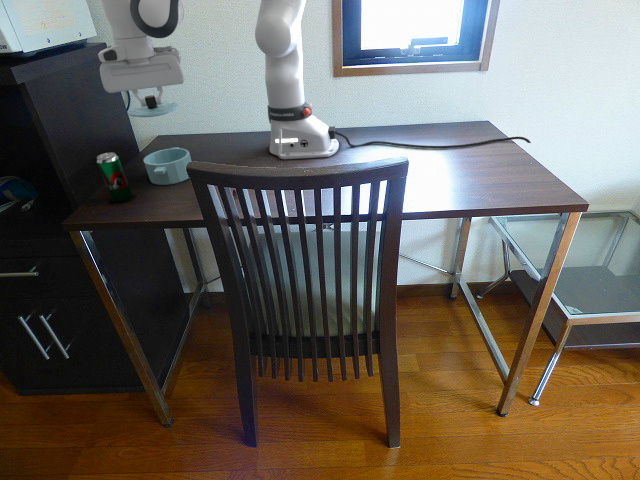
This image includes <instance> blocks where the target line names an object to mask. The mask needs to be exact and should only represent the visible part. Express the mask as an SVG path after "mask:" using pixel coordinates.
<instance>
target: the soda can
mask: <svg viewBox="0 0 640 480" xmlns="http://www.w3.org/2000/svg"><path fill="white" fill-rule="evenodd" d="M96 164H97V167H98V169H99V172H100V175H101V176H102V178H103V181H104V183H105V186H106V189H107V191H108V194H109V196H110V198H111V200H112V201H113V202H115V203H123V202H126V201H129V200H130V199H131V198H132V196H133V192H132V189H131V186H130V184H129V182H128V178H127V175H126V173H125V170H124V168H123V165H122V162H121V160H120V157H119V156H118V155H117V154H116V153H115V152H113V151H112V152H111V151H110V152H104V153H101V154H99V155H97V156H96Z"/></svg>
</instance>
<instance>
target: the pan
mask: <svg viewBox="0 0 640 480" xmlns="http://www.w3.org/2000/svg"><path fill="white" fill-rule="evenodd" d="M142 161H143V164H144V166H145V169H146V173H147V175H148V178H149V181H150V183H151V184H154V185H157V186H164V185H165V186H166V185H173V184H179V183H182V182H184V181H187V180H188V179H190V178H189V177H188V175H187V172H186V166H187V164H188V163H189V162H192V163H193V161H192V158H191V153H190V151H189V150H188V149H186V148H183V147H181V148H180V147H178V146H176V147H170V148H165V149H160V150H157V151H154V152H151V153H149V154H148V155H146V156H145V157H144V158H143V159H142Z"/></svg>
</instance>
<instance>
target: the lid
mask: <svg viewBox="0 0 640 480" xmlns="http://www.w3.org/2000/svg"><path fill="white" fill-rule="evenodd" d="M155 97H156V96H155V95H154V94H153V95H151V94H150V95H146V96H144V99H145V100H146V103H147V106H145V107H142V106H141V104H139V105H136V106H133V107H131V108H129V109H128V110H127V114H128V116H129V117H133V118H154V117H161V116H164V115H167V114H169V113H171V112H173V111H176V110H177V109H178V108H179V104H178V102H175V101H167V100H165V101H162V104H160V105H157V103H156V100H155Z"/></svg>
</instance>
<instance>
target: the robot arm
mask: <svg viewBox="0 0 640 480" xmlns="http://www.w3.org/2000/svg"><path fill="white" fill-rule="evenodd" d="M100 1H101V5H102V9H103V13H104V15H105V19H106V20H107V22H108V24H109V26H110V28H111V36H112V40H113V43H114V44H113V45H109V46H107V47H106V48H104V49H102V50H100V51H99V52H98V54H97V56H98V59H99V61H100V63H101V64H100V66H99V74H100V75H99V76H100V79H101V84H102V87H103V89H104V91H105V92H107V93H109V94H115V93H121V92H132V95H133V96H134V97H135V98H136V99H137V100H138V101H139V103H140V104H139V105H141V106H142V107H145V106H147V103H146V100H145V98H142V96H140V94H139V93H140V90H143V89H144V90H146V89H152V88H156V91H157V92H158V95H157V96H155V100H156V103H157V105H160V104H162V102H163V99H162V96H163V92H164V88H163V87H169V86H176V85H183V84H184V83H185V80H186V79H185V76H184V71H183V70H182V66H181V65H180V64H181V62H182V58H181V57H182V56H181V54H180V51H179V50H178V49H177V48H176V47H173V46H172V45H167V46H158V47H154V43H153V40H152V38H153V39H165V38H167V37H170V36H171V35H172V34H173V33H174V32H175V31H176V30H177V28H179V27H180V25H181V24H182V22H183V20H184V16H185V15H184V14H185V12H184V11H185V10H184V6H183V3H182V1H181V0H100ZM306 1H307V0H260V4H259V9H258V14H257V19H256V23H255V30H254V38H255V42H256V45H257V47H258V49H259V50H260V51H261V52H262V53H263V54H264V61H265V64H264V65H265V68H264V69H265V71H264V72H265V73H264V80H265V81H264V82H265V88H266V95H267V96H266V97H267V103H268V104H267V118H268V121H269V124H270V141H269V149H268V150H269V152H270V153H271V154H272V155H274V156H277V157H278V158H279V159H281V160H298V159H314V158H329V157H332V156H334V154H336V153H337V151H338V150H339V147H340V144H339V141H338V140H337V139H336V135H338V136H340V137H342V138H344V139H345V140H346V143H347V145H348V146H349V147H351V148H359V147H364V146H369V145H372V144H373V145H375V144H380V145H381V144H382V145H391V146H396V147H397V146H398V147H408V148H419V149H453V148H454V149H457V148H467V147H473V146H481V145H485V144H491V143H497V142H506V141H512V140H522V141H525V142H526V143H527V144H531V143H532V142H531V141H530V140H529V139H528V138H526V137H525V136H509V137H504V138H493V139H489V140H484V141H480V142H479V141H478V142H472V143H465V144H452V145H425V144H424V145H423V144H422V145H421V144H410V143H401V142H391V141H385V140H384V141H383V140H373V141H372V140H371V141H368V142H365V143H361V144H357V145H355V144H352V143H351V142H350V139H349V138H348V137H347V135H345V134H344V133H341V132H339V131H336V126H328V125H327V124H326V123H325V122H323V121H321V120H320V118H319V119H318V118H317V117H316V116H315V115H313V110H312V109H313V107H312V106H313V103H308V102H306V101H305V90H304V89H305V88H304V78H303V77H304V75H303V42H302V40H303V39H302V26H301V21H302V18H303V13H304V8H305V5H306Z"/></svg>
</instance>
